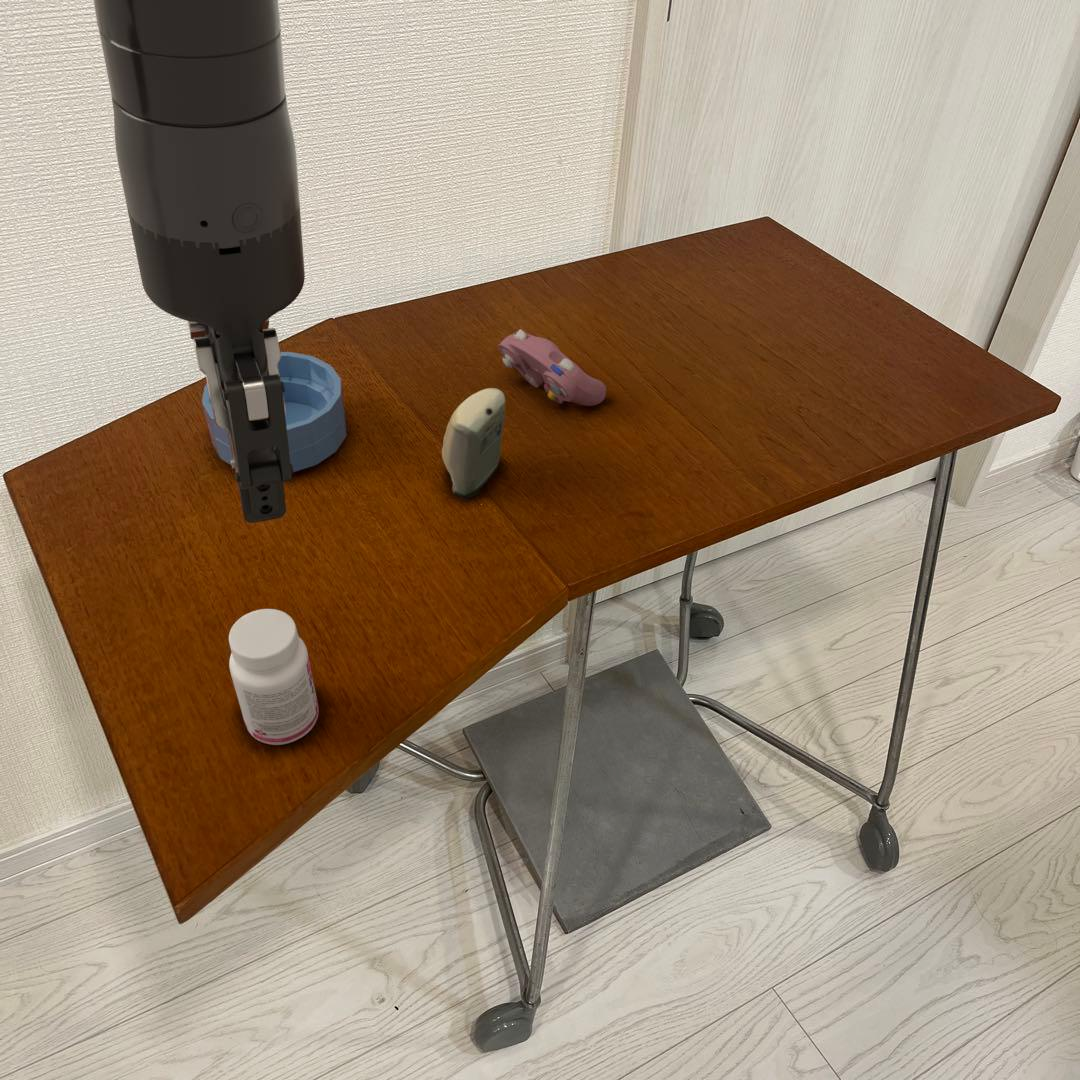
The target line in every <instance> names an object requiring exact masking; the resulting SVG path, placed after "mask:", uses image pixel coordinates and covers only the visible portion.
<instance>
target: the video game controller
mask: <svg viewBox="0 0 1080 1080" xmlns="http://www.w3.org/2000/svg"><path fill="white" fill-rule="evenodd" d="M497 347H498V350H499V352H500V354H501V355H502V363H503V365H504V366H505V367H507V368H509V369H513V368H515V369H516V370H517V371H518V372H519V373H520V374H521V375H522V377H523V378H524V379H525V380H526V382H528V383H529V384H530V385H531V386H533V387H534V388H537V389H538V388H539V387H541V385H542V384H543V383H544V384H543V389H544V391H545V392H546V394H547V397H548V398H549V399H550V400H551V401H555V402H557V403H558V404H560V405H561V404H563V403H564V402H569V403H570V402H571V403H574V404H577V405H581V406H586V407H593V406H597V405H599V404H601V403H602V402H604V400H605V398H606V396H607V395H606V394H607V386H606V384H604V382H602V381H601V380H600V379H597V378H594V377H592V376H590V375H588V374H587V373H585V371H584V370H582V368H581V367H580V366H578V364H576V363H575V362H574V361H573V360H572V359H570V358H569V357H568V356H566V355H565V354H564V353H563V352H562V351H561V350H560V349H559V347H558V346H557V345H556V344H555V342H553V341H552V340H550V339H547V338H544V337H540V336H535V335H532V334H531V333H528V332H525V331H524V330H523V329H519V330H518V331H515V332H513V333H510V334H509V335H508V336H506V337H505V338H503V340H502V341H501V342H500V343H499V344H498V345H497Z"/></svg>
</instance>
